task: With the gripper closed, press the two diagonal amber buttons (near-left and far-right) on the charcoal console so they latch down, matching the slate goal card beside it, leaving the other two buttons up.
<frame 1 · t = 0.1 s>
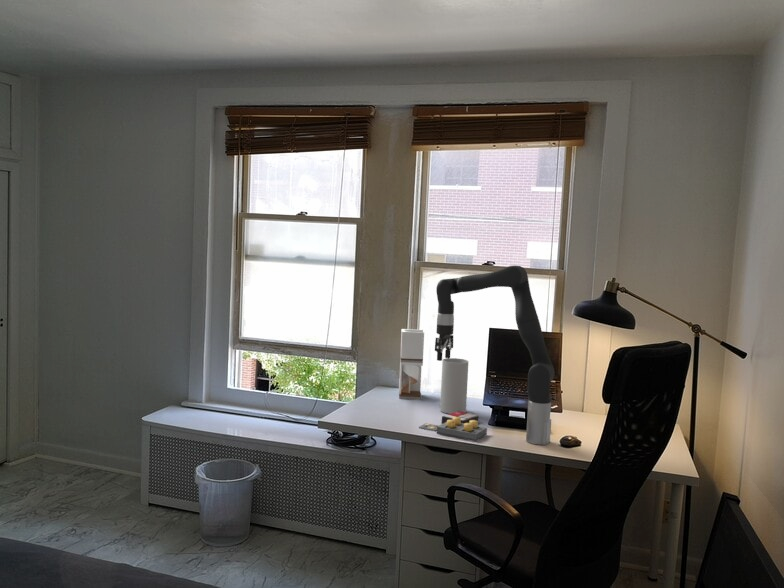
hand: (443, 359, 292), 29 cm above the table, fingers open, 8 cm apart
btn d: (456, 421, 282), point 4 cm above the table, slide at 0.0 cm
cylinder vase: (452, 411, 315), on the table
goal card: (430, 427, 286), on the table
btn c: (473, 424, 278), point 4 cm above the table, slide at 0.0 cm
btn b: (450, 424, 278), point 4 cm above the table, slide at 0.0 cm
console: (461, 434, 278), on the table
white square dispenser: (409, 397, 342), on the table
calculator: (459, 424, 296), on the table
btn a: (468, 427, 274), point 4 cm above the table, slide at 0.0 cm
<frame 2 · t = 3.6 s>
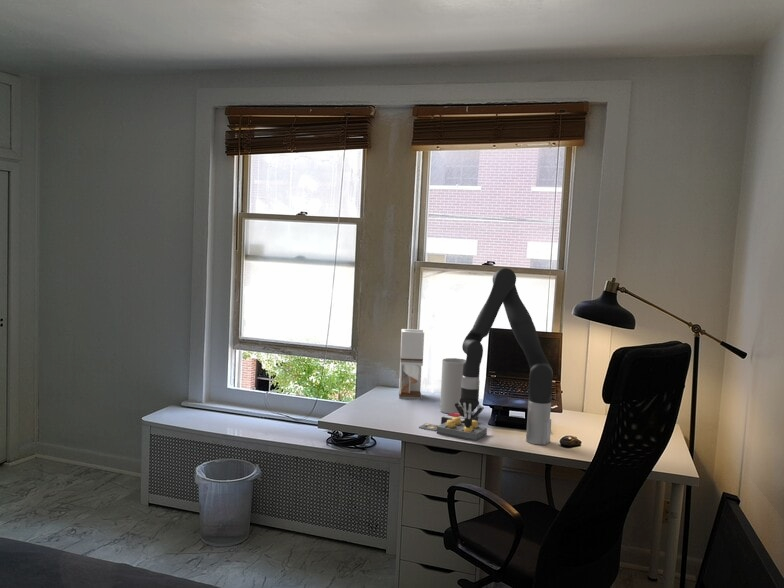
hand: (467, 426, 274), 4 cm above the table, fingers closed
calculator: (459, 424, 295), on the table
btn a: (468, 430, 274), point 3 cm above the table, slide at 1.3 cm, touching gripper
everything else where it was.
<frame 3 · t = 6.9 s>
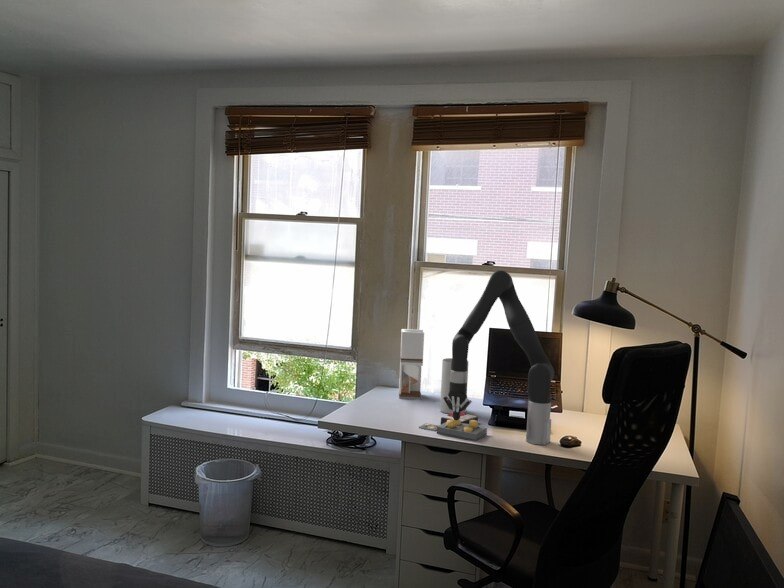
hand: (456, 419, 283), 5 cm above the table, fingers closed
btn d: (456, 423, 283), point 3 cm above the table, slide at 0.9 cm, touching gripper
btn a: (468, 431, 274), point 3 cm above the table, slide at 1.6 cm
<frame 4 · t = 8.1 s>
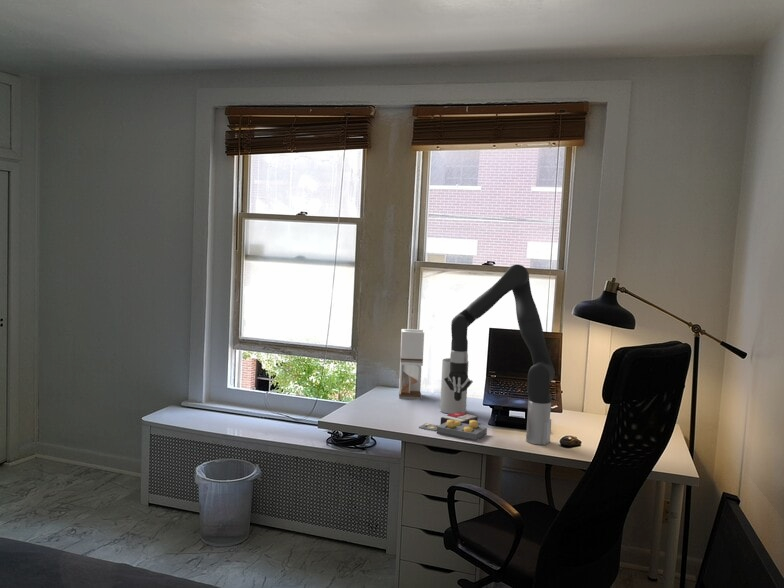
hand: (457, 400, 281), 14 cm above the table, fingers closed
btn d: (456, 425, 283), point 3 cm above the table, slide at 1.6 cm
everything else where it was.
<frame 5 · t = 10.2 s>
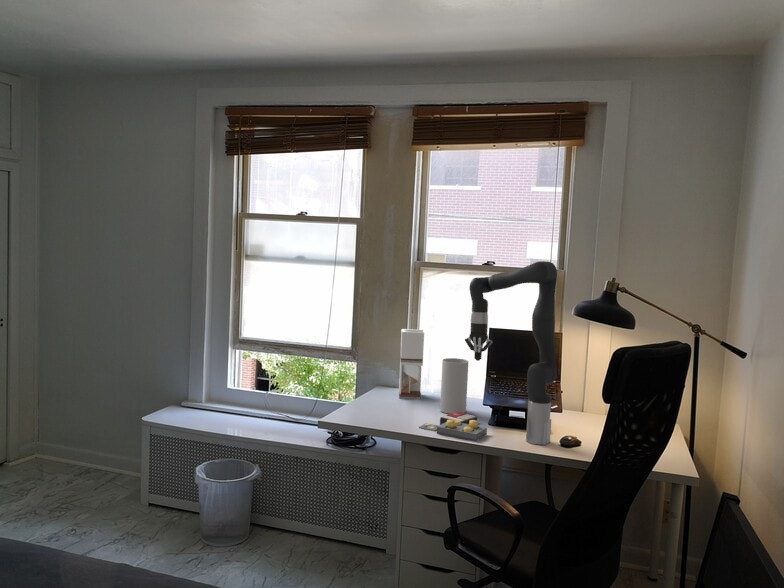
hand: (477, 360, 292), 29 cm above the table, fingers closed
nothing on the table moved.
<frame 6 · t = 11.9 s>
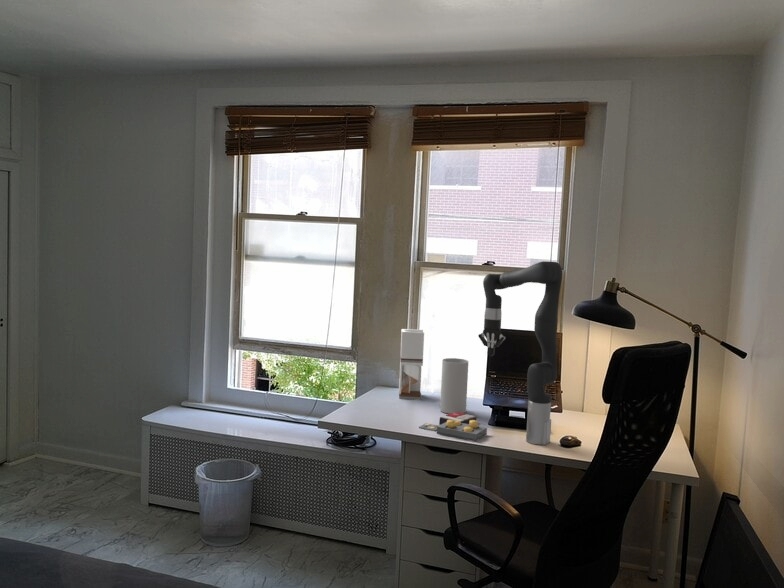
hand: (490, 355, 296), 31 cm above the table, fingers closed
at the end: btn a slide at 1.6 cm; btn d slide at 1.6 cm; btn b slide at 0.0 cm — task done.
